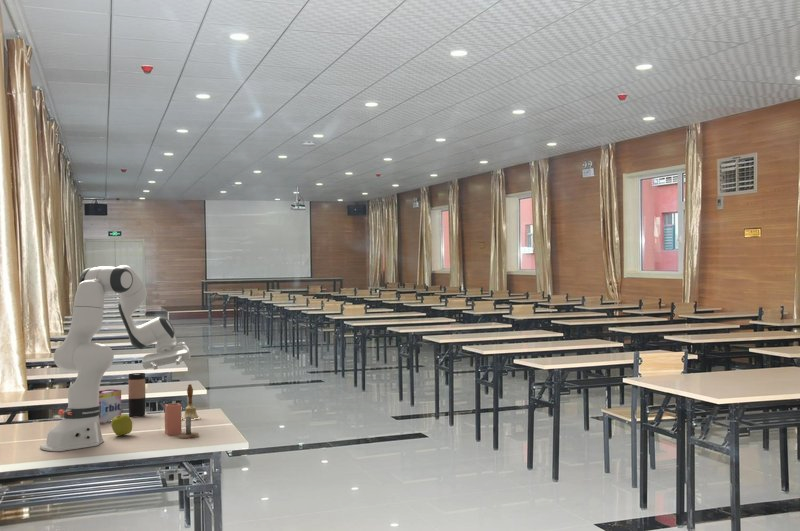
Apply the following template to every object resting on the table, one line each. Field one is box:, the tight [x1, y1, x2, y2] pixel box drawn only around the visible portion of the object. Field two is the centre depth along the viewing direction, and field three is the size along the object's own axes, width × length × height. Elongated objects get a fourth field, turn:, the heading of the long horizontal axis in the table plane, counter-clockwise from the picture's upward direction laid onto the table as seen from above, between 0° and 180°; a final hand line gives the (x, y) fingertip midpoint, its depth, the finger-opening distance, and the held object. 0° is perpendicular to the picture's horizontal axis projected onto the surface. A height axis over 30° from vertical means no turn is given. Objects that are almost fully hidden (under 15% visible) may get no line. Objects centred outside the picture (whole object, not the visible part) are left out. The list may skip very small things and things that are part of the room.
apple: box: [111, 413, 133, 437], centre depth 299 cm, size 8×8×10 cm
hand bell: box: [181, 383, 200, 419], centre depth 337 cm, size 8×8×16 cm
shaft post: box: [177, 416, 200, 440], centre depth 294 cm, size 8×8×8 cm
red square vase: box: [164, 402, 183, 436], centre depth 301 cm, size 6×6×12 cm
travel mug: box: [127, 372, 146, 417], centre depth 349 cm, size 8×8×20 cm
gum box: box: [99, 389, 122, 424], centre depth 332 cm, size 24×8×14 cm, turn 152°
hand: (166, 365), depth 312 cm, fingers open, 8 cm apart
